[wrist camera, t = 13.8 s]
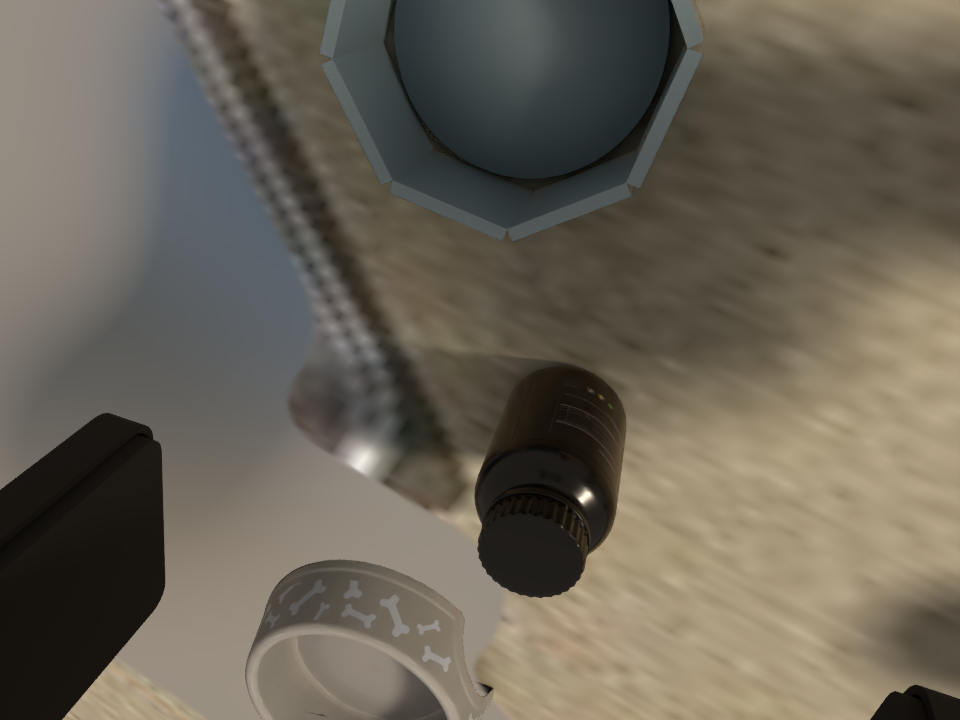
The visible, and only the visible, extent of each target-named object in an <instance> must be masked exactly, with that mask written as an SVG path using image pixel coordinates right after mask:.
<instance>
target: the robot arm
mask: <svg viewBox="0 0 960 720" xmlns="http://www.w3.org/2000/svg"><path fill="white" fill-rule="evenodd" d="M164 588H165V555H164V520H163V485H162V451H161V445H160V444H159V442H157V441H155V440H153V434H152V431H151V429H150V428H149V427H147V426H145V425H143V424H139V423H137V422H134V421H131V420H128V419H125V418H122V417H119V416H116V415H113V414H110V413H104V414H101V415H99V416H97V417H95V418H94V419H93V420H91V421H90V422H89V423H87V424H86V425H85V426H84V427H82V428H81V429H80V430H78V431H77V432H76V433H74V434H73V435H72V436H70V437H69V438H68V439H66V440H65V441H64V442H63V443H61V444H60V445H59V446H57V447H56V448H55V449H53V450H52V451H51V452H49V453H48V454H47V455H46V456H44V457H43V458H42V459H40V460H39V461H38V462H36V463H35V464H34V465H32V466H31V467H30V468H28V469H27V470H26V471H24V472H23V473H22V474H21V475H19V476H18V477H17V478H15V479H14V480H13V481H11V482H10V483H9V484H7V485H6V486H5V487H4V488H2V489H1V490H0V720H62V719H63V718H64V717H65V716H66V714H67V713H68V712H69V711H70V710H71V708H72V707H73V706H74V705H75V704H76V702H77V701H78V700H79V699H80V698H81V697H82V695H83V694H84V693H85V692H86V691H87V689H88V688H89V687H90V686H91V685H92V683H93V682H94V681H95V680H96V679H97V678H98V676H99V675H100V674H101V673H102V672H103V670H104V669H105V668H106V667H107V666H108V664H109V663H110V662H111V661H112V660H113V659H114V657H115V656H116V655H117V654H118V653H119V651H120V650H121V649H122V647H124V645H125V644H126V643H127V642H128V641H129V640H130V638H131V637H132V636H133V635H134V634H135V632H136V631H137V630H138V629H139V628H140V626H141V625H142V624H143V623H144V622H145V620H146V619H147V618H148V617H149V616H150V615H151V613H152V612H153V611H154V610H155V608H156V607H157V605H158V603H159V601H160V600H161V597H162V595H163V591H164ZM870 720H960V699H958V698H955V697H952V696H949V695H946V694H943V693H940V692H937V691H934V690H931V689H928V688H925V687H922V686H919V685H913V686H911V687H909V688H908V689H907V690H906V691H905V692H904V693H903V694H902V693H899V692H896V691H894V692H892V693H890V694H889V695H888V696H887V697H886V699H885V700H884V701H883V703H882V704H881V706H880V707H879V708H878V710H877V711H876V712H875V714H874V715H873V717H872V718H871V719H870Z"/></svg>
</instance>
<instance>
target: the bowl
mask: <svg viewBox="0 0 960 720" xmlns="http://www.w3.org/2000/svg"><path fill="white" fill-rule="evenodd" d="M671 1H672V4H673V7H674V10H675V13H676V16H677V18H678V21H679V24H680V27H681V30H682V33H683V36H684V39H685V45H684V47H683V49H682V51H681V53H680V56H679V58H678V60H677V62H676V64H675V67H674V69H673V71H672V73H671V75H670V78H669V80H668V82H667V84H666V86H665V88H664V91H663V93H662V95H661V97H660V99H659V102H658V104H657V106H656V108H655V110H654V113H653V115H652V117H651V119H650V121H649V124H648V126H647V128H646V130H645V132H644V135H643V137H642V139H641V141H640V143H639V146H638V148H637V149H636V150H634V151H631V152H629V153H626V154H624V155H622V156H619V157H617V158H614V159H612V160H609V161H607V162H604V163H602V164H599V165H597V166H594V167H592V168H589V169H587V170H584V171H582V172H579V173H577V174H575V175H572V176H570V177H567V178H565V179H562V180H560V181H557V182H555V183H552V184H550V185H547V186H545V187H542V188H540V189H537V190H535V191H531V190H529V189H526V188H524V187H522V186H519V185H517V184H515V183H512V182H510V181H508V180H505V179H503V178H501V177H498V176H496V175H494V174H491V173H489V172H486V171H484V170H487V171H490V172H493V173H495V174H499V175H504V176H509V177H514V178H527V179H533V178H547V177H553V176H558V175H563V174H566V173H569V172H572V171H575V170H578V169H580V168H582V167H584V166H586V165H589V164H591V163H593V162H595V161H596V160H598V159H599V158H601V157H602V156H604V155H605V154H607V153H608V152H610V151H611V150H612V149H613V148H614V147H615V146H617V145H618V144H619V143H620V142H621V141H622V140H623V139H624V138H625V137H626V136H627V135H628V134H629V133H630V132H631V131H632V129H633V128H634V127H635V126H636V125H637V123H638V122H639V120H640V119H641V117H642V116H643V115H644V113H645V112H646V110H647V108H648V106H649V104H650V103H651V101H652V99H653V97H654V95H655V93H656V90H657V88H658V85H659V82H660V80H661V77H662V74H663V71H664V66H665V62H666V58H667V54H668V46H669V38H670V10H669V3H668V0H397V2H396V8H395V21H394V35H395V48H396V55H397V61H398V66H399V69H400V73H401V77H402V80H403V82H402V80H401V78H400V76H399V74H398V72H397V70H396V68H395V65H394V63H393V61H392V59H391V57H390V55H389V53H388V51H387V48H386V46H385V44H384V41H385V37H386V34H387V30H388V26H389V22H390V18H391V14H392V10H393V6H394V2H395V0H331V1H330V6H329V10H328V15H327V20H326V24H325V29H324V34H323V38H322V43H321V48H320V52H319V54H322V55H324V56H327V57H329V58H331V60H329V61H327V62H325V63H323V64H322V65H321V66H322V68H323V70H324V72H325V74H326V76H327V78H328V80H329V82H330V84H331V86H332V88H333V90H334V92H335V94H336V96H337V98H338V100H339V102H340V104H341V106H342V108H343V110H344V112H345V114H346V116H347V118H348V120H349V122H350V124H351V126H352V128H353V130H354V132H355V134H356V136H357V138H358V140H359V142H360V144H361V146H362V148H363V150H364V152H365V154H366V156H367V158H368V160H369V162H370V164H371V166H372V168H373V170H374V172H375V174H376V176H377V178H378V180H379V182H380V184H381V185H383V184H386V183H388V182H390V181H392V183H391V187H390V190H389V193H391V194H393V195H396V196H398V197H400V198H402V199H405V200H407V201H409V202H412V203H414V204H416V205H419V206H421V207H423V208H426V209H428V210H430V211H433V212H435V213H437V214H440V215H442V216H444V217H447V218H449V219H451V220H454V221H456V222H458V223H461V224H463V225H465V226H468V227H470V228H472V229H475V230H477V231H479V232H482V233H484V234H486V235H488V236H491V237H493V238H495V239H498V240H500V241H503V240H504V238H505V237H506V235H507V234H508V233H509V236H510V238H511V240H512V242H513V241H516V240H518V239H521V238H523V237H526V236H529V235H531V234H534V233H537V232H539V231H542V230H545V229H547V228H550V227H552V226H555V225H558V224H560V223H563V222H566V221H568V220H571V219H574V218H576V217H579V216H581V215H584V214H587V213H589V212H592V211H595V210H597V209H600V208H602V207H605V206H608V205H610V204H613V203H616V202H618V201H621V200H624V199H626V198H629V197H631V196H632V193H633V189H634V187H636V188H639V189H640V187H641V185H642V183H643V181H644V179H645V177H646V174H647V172H648V170H649V168H650V166H651V164H652V162H653V160H654V157H655V155H656V153H657V151H658V149H659V147H660V145H661V143H662V140H663V138H664V136H665V134H666V132H667V130H668V128H669V126H670V123H671V121H672V119H673V117H674V115H675V113H676V111H677V109H678V107H679V104H680V102H681V100H682V98H683V96H684V94H685V92H686V90H687V87H688V85H689V83H690V81H691V79H692V77H693V75H694V73H695V70H696V68H697V66H698V64H699V62H700V60H701V58H702V56H703V42H704V26H703V23H702V20H701V17H700V14H699V11H698V8H697V5H696V2H695V0H671ZM403 83H404V85H405V87H404V85H403ZM405 88H406V89H405ZM406 90H407V91H406ZM412 103H413V104H412ZM413 105H414V106H413ZM414 107H415V108H414ZM415 109H416V110H415ZM416 111H417V112H416ZM417 113H418V114H419V116H420V117H421V118H422V120H423V121H424V123H425V124H426V126H427V127H428V128H429V129H430V130H431V132H432V133H433V134H434V135H435V136H436V137H437V138H438V139H439V140H440V141H441V142H442V143H443V144H444V145H445V146H447V147H448V148H449V149H450V150H451V151H452V152H454V153H455V154H457V155H458V156H460V157H461V158H463V159H464V160H466V161H467V162H469V163H471V164H473V165H475V166H477V167H479V168H481V169H479V168H477V167H475V166H472V165H470V164H468V163H465V162H463V161H461V160H458V159H456V158H454V157H451V156H449V155H447V154H444V153H442V152H440V151H437V150H435V149H434V148H433V146H432V144H431V142H430V140H429V138H428V136H427V134H426V131H425V129H424V127H423V125H422V123H421V121H420V119H419V117H418V114H417ZM482 169H484V170H482Z"/></svg>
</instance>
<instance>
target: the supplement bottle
mask: <svg viewBox="0 0 960 720" xmlns="http://www.w3.org/2000/svg"><path fill="white" fill-rule="evenodd" d="M625 437H626V415H625V411H624V408H623V405H622V403H621V401H620V399H619V397H618V396H617V394H616V393H615V392H614V390H613V389H612V388H611V387H610V386H609V385H608V384H607V383H606V382H604V381H603V380H602V379H600V378H599V377H597V376H595V375H593V374H591V373H589V372H587V371H584V370H581V369H577V368H572V367H551V368H546V369H543V370H540V371H537V372H535V373H533V374H531V375H529V376H528V377H526V378H525V379H524V380H523V381H521V382H520V383H519V384H518V386H517V387H516V388H515V389H514V391H513V392H512V394H511V396H510V398H509V400H508V403H507V405H506V407H505V410H504V412H503V415H502V417H501V420H500V422H499V425H498V427H497V430H496V432H495V435H494V437H493V440H492V442H491V445H490V447H489V450H488V452H487V455H486V457H485V460H484V462H483V465H482V467H481V470H480V472H479V475H478V478H477V482H476V486H475V506H476V510H477V514H478V517H479V519H480V521H481V523H482V529H481V532H480V535H479V538H478V548H477V550H478V552H479V559H480V560H481V562H482V566H483V567H484V568H485V569H486V572H487V574H488V575H490V576H491V577H492V579H493V580H494V581H495V582H498V583H499V584H500V585H501V586H502V587H504V588H507V589H508V590H509V591H511V592H516V593H518V594H519V595H526V596H528V597H538V598H542V597H552V596H554V595H560V594H561V593H562V592H566V591H568V590H569V588H571V587H573V586H575V584H576V582H577V581H578V580H579V579H580V578H581V574H582V573H583V571H584V569H585V563H586V557H587V555H588V554H590V553H592V552H593V551H594V550H596V549H597V548H598V547H599V546H600V545H601V544H602V543H603V542H604V541H605V539H606V538H607V536H608V535H609V533H610V531H611V529H612V526H613V523H614V519H615V515H616V509H617V501H618V493H619V485H620V477H621V469H622V461H623V453H624V445H625Z"/></svg>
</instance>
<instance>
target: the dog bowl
mask: <svg viewBox="0 0 960 720" xmlns="http://www.w3.org/2000/svg"><path fill="white" fill-rule="evenodd" d="M463 629H464V616H463V614H462V612H461V611H460V610H459V609H458V608H456V607H455V606H454V605H453V604H452V603H451V602H450V601H448V600H447V599H446V598H444V597H443V596H442V595H440V594H439V593H437V592H436V591H435V590H433V589H431V588H430V587H428V586H427V585H425V584H423V583H422V582H419V581H417V580H415V579H413V578H411V577H409V576H407V575H404V574H402V573H399V572H397V571H395V570H392V569H389V568H386V567H383V566H380V565H375V564H371V563H367V562H363V561H362V562H361V561H354V560H340V559H339V560H325V561H320V562H315V563H311V564H307V565H305V566H301V567H300V568H297V569H295V570H293V571H292V572H290V573H289V574H287V575H286V576H285V577H284V578H283V579H281V581H280V582H279V583H278V584H277V585H276V587H275V588H274V590H273V591H272V593H271V595H270V598H269V600H268V603H267V605H266V608H265V613H264V616H263V618H262V621H261V624H260V626H259V629H258V632H257V634H256V637H255V640H254V642H253V645H252V648H251V651H250V653H249V656H248V659H247V663H246V675H245V677H246V684H247V688H248V692H249V695H250V698H251V701H252V703H253V705H254V707H255V709H256V710H257V712H258V714H259V715H260V717H261V718H262V720H481V718H482V717H483V715H484V714H485V711H486V710H487V709H488V707H489V705H490V703H491V700H492V697H493V692H494V689H492V690H491V691H490V692H489V693H488V694H487V695H486V696H483V697H481V696H479V694H478V693H477V692H476V690H475V689H474V687H473V684H472V681H471V679H470V676H469V673H468V671H467V667H466V664H465V659H464V650H463Z"/></svg>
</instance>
